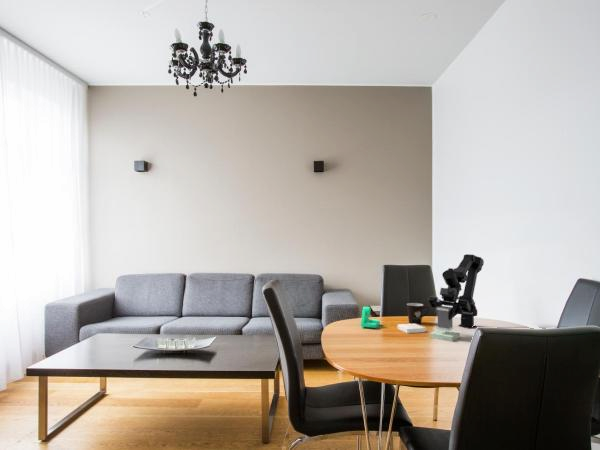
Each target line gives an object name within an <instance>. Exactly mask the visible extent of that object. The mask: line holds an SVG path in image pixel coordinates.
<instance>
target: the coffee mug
mask: <svg viewBox="0 0 600 450" xmlns="http://www.w3.org/2000/svg"><path fill="white" fill-rule="evenodd" d="M406 308H407V316H408V324H414V323H415V324H417V325H421V324H422V320H423V318H424V317H425V316H426V315H427V314H428V313H429V311H430V309H429V307H428V306H426V305H425V306H424V304H423V303H418V302H410V303H409V302H408V303H406ZM425 308H426V309H427V311H426V312H425V313H424V314H423V312H424V311H423V310H424V309H425Z"/></svg>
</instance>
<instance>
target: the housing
mask: <svg viewBox="0 0 600 450" xmlns="http://www.w3.org/2000/svg"><path fill="white" fill-rule="evenodd" d="M452 308H453V306H446V305H442V306H440V307H437V308H436V311H437V310H438V315H437V327H436V330H445V331H452V330H453V329H454V325H453V318H452V319H451V320H449V316H450V313H451V311H452Z"/></svg>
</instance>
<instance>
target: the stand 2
mask: <svg viewBox="0 0 600 450" xmlns="http://www.w3.org/2000/svg"><path fill="white" fill-rule="evenodd" d="M429 336H430V337H429V338H431V339H436V340H441V341H447V342H454V341H456V340H458V339H459V338H461V333H460V332H456V331H452V330H450V331H446V330H440V329H436V330H435V331H432V332H430V333H429ZM457 338H458V339H457ZM455 339H456V340H455Z"/></svg>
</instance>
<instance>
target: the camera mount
mask: <svg viewBox="0 0 600 450" xmlns="http://www.w3.org/2000/svg"><path fill="white" fill-rule="evenodd" d="M371 310H372V309H371V307H370V306H363V307H362V311H361V319H360V327H362V328H374V329H378V328H379V325H380V323H381V320H380V319H376V318H375V319H373V318H372V319H371V318H370V317H369V316H370V315H371V313H372V312H371Z"/></svg>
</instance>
